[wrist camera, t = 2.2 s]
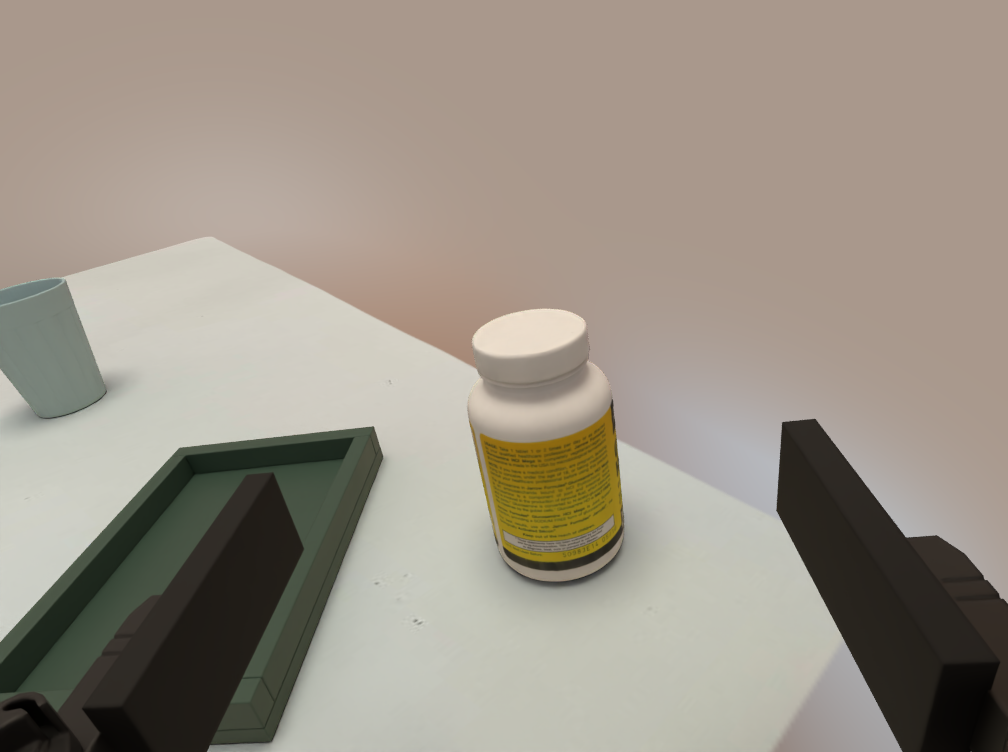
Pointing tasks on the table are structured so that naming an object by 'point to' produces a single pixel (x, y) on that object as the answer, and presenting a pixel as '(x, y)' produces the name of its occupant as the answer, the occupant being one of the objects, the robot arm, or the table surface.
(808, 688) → the table surface
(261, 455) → the tray
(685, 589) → the table surface
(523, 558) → the pill bottle
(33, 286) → the cup
